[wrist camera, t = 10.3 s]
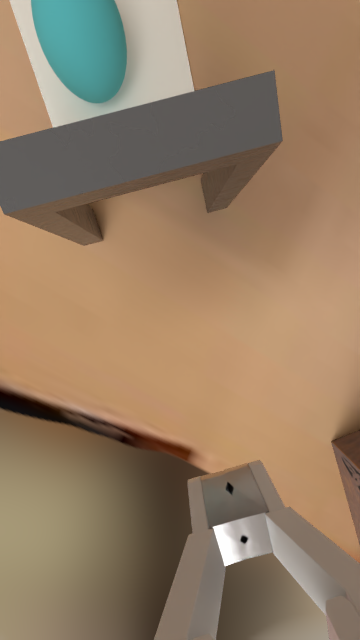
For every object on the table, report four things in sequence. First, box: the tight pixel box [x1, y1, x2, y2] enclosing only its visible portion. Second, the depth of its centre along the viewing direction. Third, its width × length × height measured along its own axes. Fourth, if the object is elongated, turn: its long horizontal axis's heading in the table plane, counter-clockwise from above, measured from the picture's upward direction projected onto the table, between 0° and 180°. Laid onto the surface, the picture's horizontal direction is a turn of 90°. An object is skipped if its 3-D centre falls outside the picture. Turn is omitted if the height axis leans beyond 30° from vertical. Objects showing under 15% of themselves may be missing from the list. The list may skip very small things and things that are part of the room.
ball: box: [31, 0, 127, 103], centre depth 14 cm, size 6×6×6 cm
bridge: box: [0, 71, 283, 246], centre depth 14 cm, size 3×15×10 cm, turn 105°
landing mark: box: [10, 0, 194, 128], centre depth 16 cm, size 13×13×1 cm
